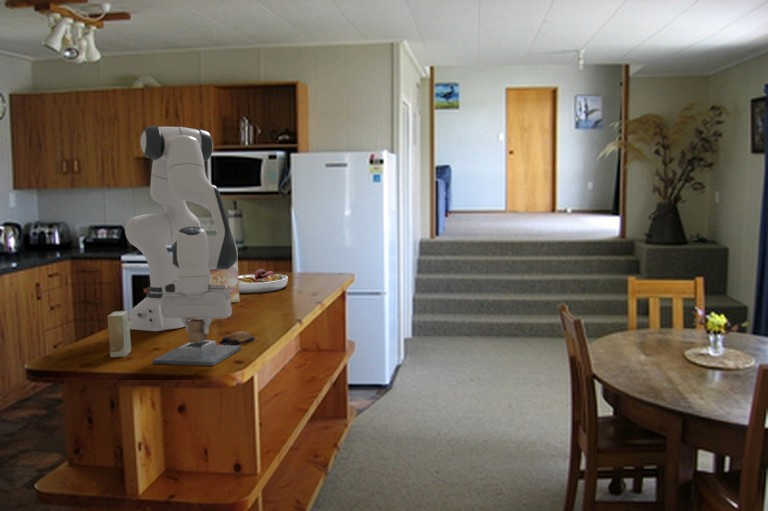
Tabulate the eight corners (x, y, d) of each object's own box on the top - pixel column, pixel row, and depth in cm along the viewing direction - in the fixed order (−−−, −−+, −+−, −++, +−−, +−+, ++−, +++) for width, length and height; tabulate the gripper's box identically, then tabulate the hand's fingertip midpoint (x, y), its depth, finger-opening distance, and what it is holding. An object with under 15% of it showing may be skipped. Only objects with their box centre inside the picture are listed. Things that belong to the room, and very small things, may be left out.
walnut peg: (197, 338, 193) (196, 318, 192) (207, 338, 192) (206, 318, 192) (189, 342, 188) (187, 321, 187) (199, 342, 187) (197, 321, 187)
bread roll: (242, 338, 214) (242, 327, 214) (260, 341, 209) (259, 329, 209) (215, 345, 206) (215, 333, 206) (233, 348, 201) (232, 336, 200)
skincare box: (116, 352, 198) (113, 311, 196) (131, 351, 198) (128, 310, 197) (109, 357, 191) (106, 315, 190) (125, 357, 192) (122, 314, 190)
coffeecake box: (206, 306, 268) (204, 258, 265) (198, 304, 273) (196, 257, 271) (240, 301, 277) (238, 254, 275) (231, 299, 283) (229, 253, 281)
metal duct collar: (152, 363, 184) (151, 351, 184) (185, 347, 201) (184, 335, 201) (213, 365, 180) (212, 353, 180) (241, 349, 198) (240, 337, 197)
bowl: (282, 293, 296) (281, 276, 295) (214, 295, 297) (213, 277, 296) (292, 283, 326) (291, 267, 325) (231, 284, 326) (230, 268, 326)
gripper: (234, 283, 189) (236, 331, 191) (168, 283, 194) (171, 330, 195) (224, 286, 183) (227, 336, 185) (156, 286, 187) (159, 335, 189)
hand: (197, 333), depth 190 cm, fingers closed on walnut peg, 3 cm apart
